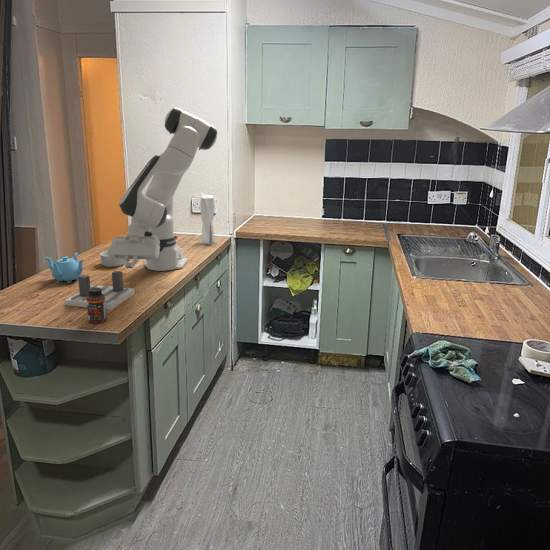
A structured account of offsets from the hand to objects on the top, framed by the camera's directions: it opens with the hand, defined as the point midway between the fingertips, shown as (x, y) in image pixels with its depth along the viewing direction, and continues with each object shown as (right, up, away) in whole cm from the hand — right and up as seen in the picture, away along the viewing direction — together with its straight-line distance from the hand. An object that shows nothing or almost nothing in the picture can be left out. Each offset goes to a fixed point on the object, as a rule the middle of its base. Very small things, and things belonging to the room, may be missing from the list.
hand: (129, 267), depth 194 cm
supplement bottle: (-3, -19, -24) cm, 31 cm away
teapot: (-31, -5, +16) cm, 35 cm away
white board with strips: (-9, -12, -5) cm, 16 cm away
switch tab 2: (-4, -9, -2) cm, 10 cm away
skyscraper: (+19, +14, +83) cm, 86 cm away
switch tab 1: (-14, -11, -7) cm, 19 cm away
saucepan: (-17, +3, +43) cm, 47 cm away
